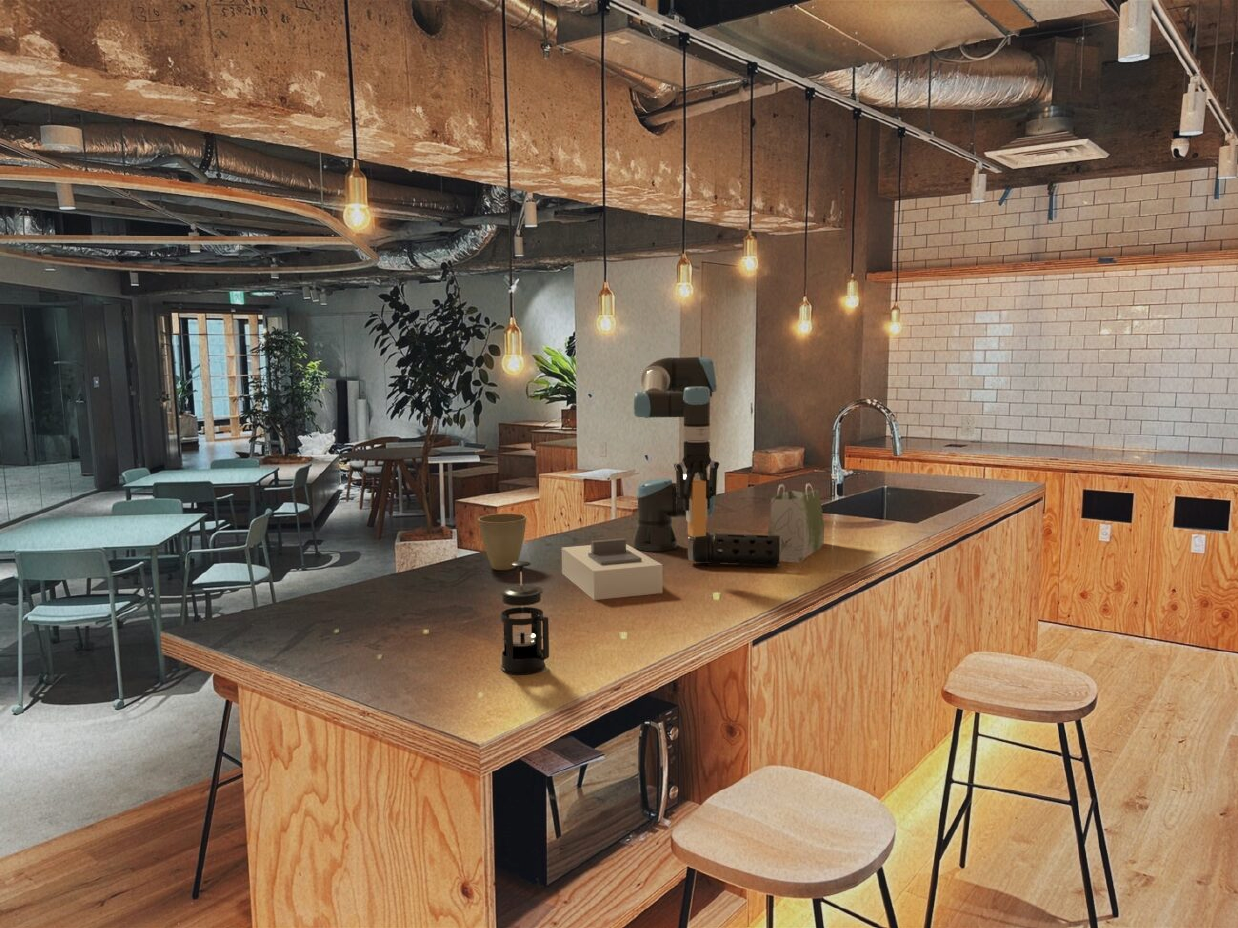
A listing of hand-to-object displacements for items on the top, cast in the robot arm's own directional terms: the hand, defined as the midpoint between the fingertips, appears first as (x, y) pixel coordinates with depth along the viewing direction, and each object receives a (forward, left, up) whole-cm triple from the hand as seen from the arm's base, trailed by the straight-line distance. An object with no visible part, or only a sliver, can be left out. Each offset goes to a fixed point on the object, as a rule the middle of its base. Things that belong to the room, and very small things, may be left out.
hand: (696, 520), depth 261 cm
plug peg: (0, 0, -4) cm, 4 cm away
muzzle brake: (-14, +19, -18) cm, 30 cm away
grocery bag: (-24, +47, -18) cm, 56 cm away
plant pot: (-38, -49, -18) cm, 65 cm away
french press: (+53, -64, -18) cm, 85 cm away
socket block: (-8, -24, -18) cm, 31 cm away
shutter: (-4, -24, -10) cm, 26 cm away
